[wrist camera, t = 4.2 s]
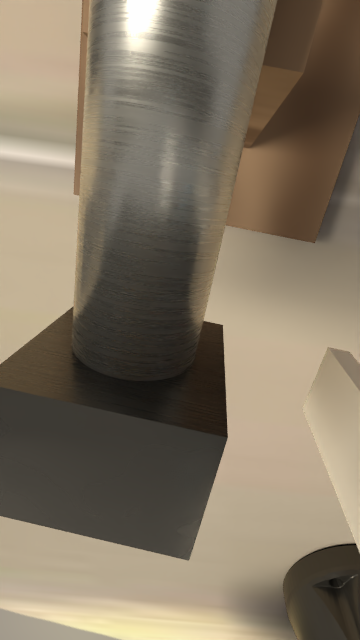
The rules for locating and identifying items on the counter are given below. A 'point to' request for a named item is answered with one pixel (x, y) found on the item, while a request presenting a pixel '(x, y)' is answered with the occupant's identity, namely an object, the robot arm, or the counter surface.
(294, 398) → the counter surface
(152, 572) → the counter surface
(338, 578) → the robot arm
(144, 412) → the shaft
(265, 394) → the counter surface
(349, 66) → the stand
